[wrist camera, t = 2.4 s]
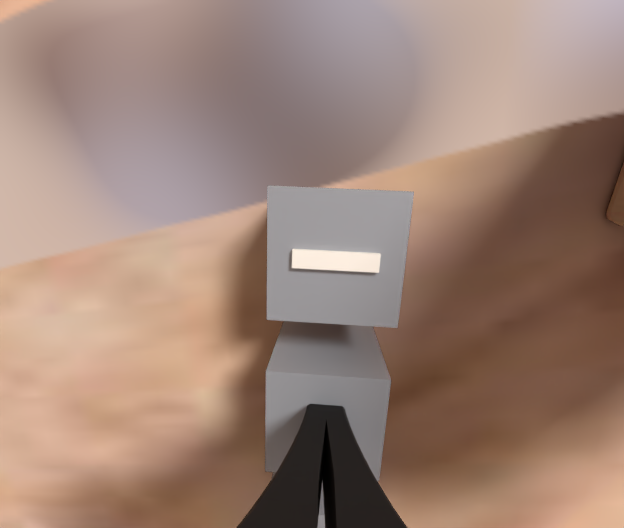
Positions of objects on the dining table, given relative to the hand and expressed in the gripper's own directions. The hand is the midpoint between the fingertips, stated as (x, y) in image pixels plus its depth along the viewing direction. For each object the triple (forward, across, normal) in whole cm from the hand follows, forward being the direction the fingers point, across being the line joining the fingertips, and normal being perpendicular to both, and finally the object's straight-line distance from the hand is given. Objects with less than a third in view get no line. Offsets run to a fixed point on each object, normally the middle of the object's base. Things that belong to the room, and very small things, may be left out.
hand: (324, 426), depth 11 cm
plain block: (+4, 0, 0) cm, 4 cm away
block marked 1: (+4, 0, -6) cm, 8 cm away
